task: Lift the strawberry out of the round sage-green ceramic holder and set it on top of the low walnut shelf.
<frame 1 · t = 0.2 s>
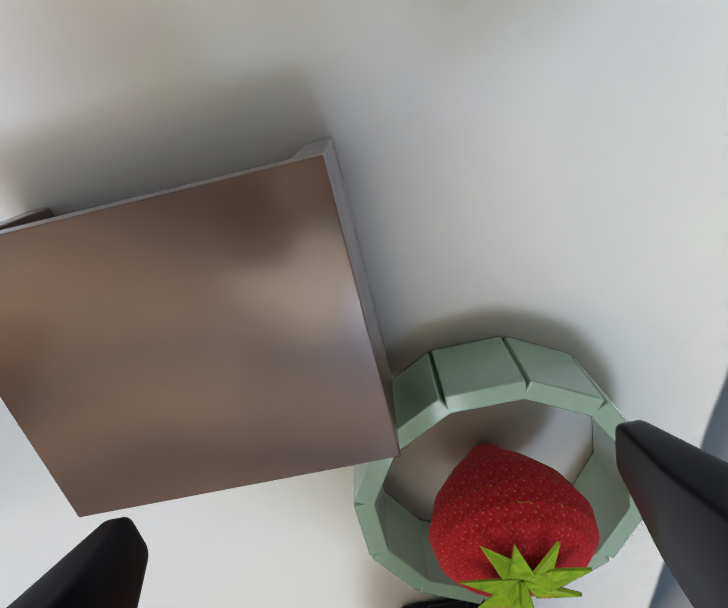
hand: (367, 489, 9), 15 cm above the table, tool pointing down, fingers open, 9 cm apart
strawberry: (482, 447, 27), on the table
shelf: (222, 300, 23), on the table
holder: (483, 449, 27), on the table
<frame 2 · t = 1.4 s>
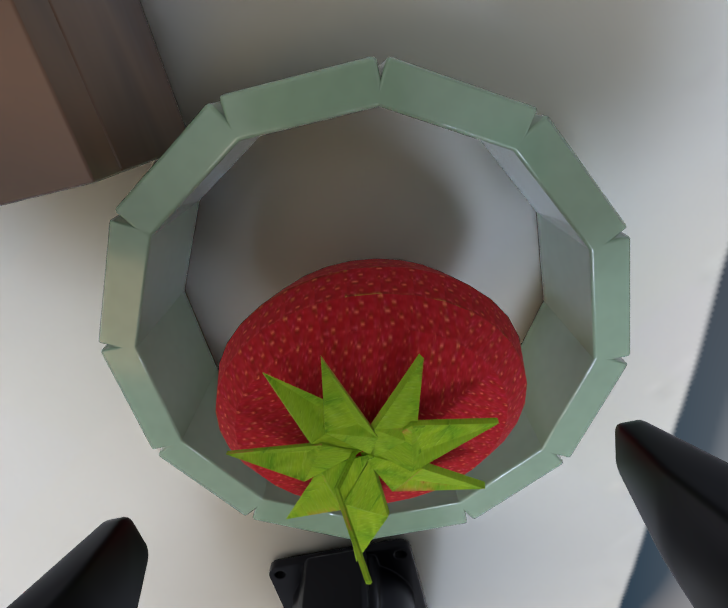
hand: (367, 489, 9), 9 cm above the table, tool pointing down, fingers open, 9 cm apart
strawberry: (365, 292, 17), on the table
holder: (365, 295, 17), on the table
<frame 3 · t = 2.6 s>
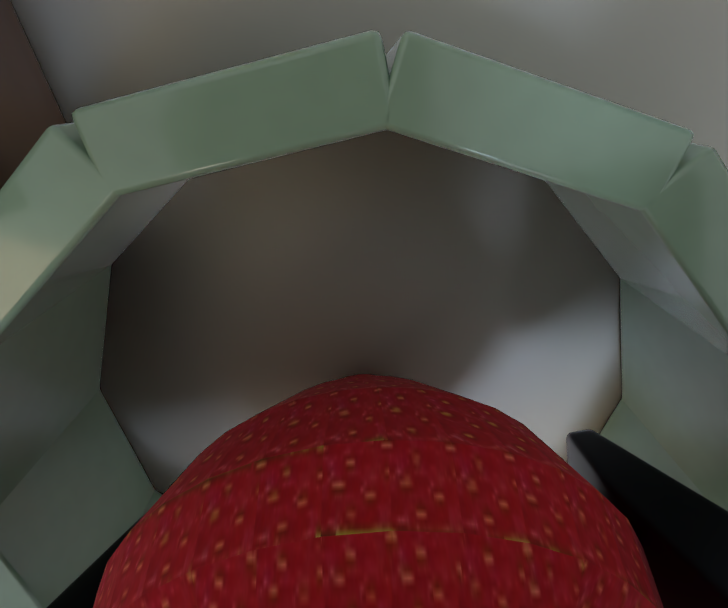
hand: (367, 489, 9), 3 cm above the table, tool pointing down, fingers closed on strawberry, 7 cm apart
strawberry: (363, 387, 12), on the table, touching gripper
holder: (364, 392, 12), on the table
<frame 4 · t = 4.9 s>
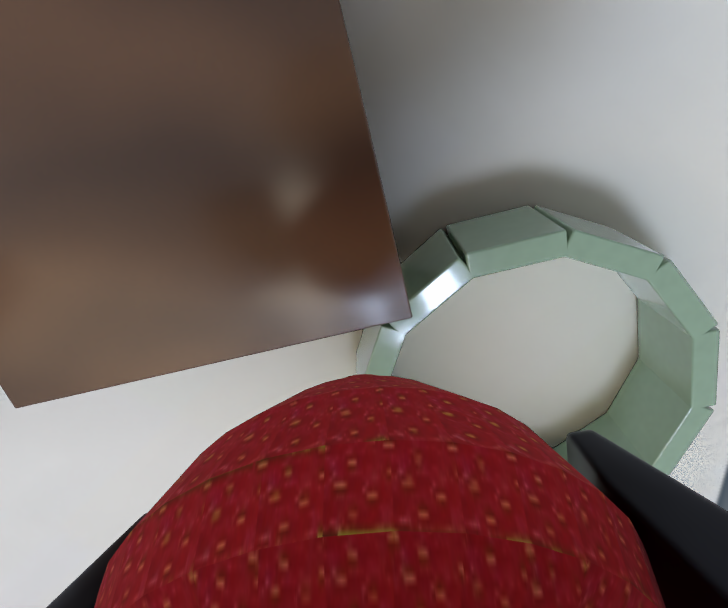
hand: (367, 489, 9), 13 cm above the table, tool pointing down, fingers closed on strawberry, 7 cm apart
strawberry: (364, 387, 12), point 10 cm above the table, touching gripper
shelf: (194, 160, 19), on the table
holder: (508, 356, 23), on the table
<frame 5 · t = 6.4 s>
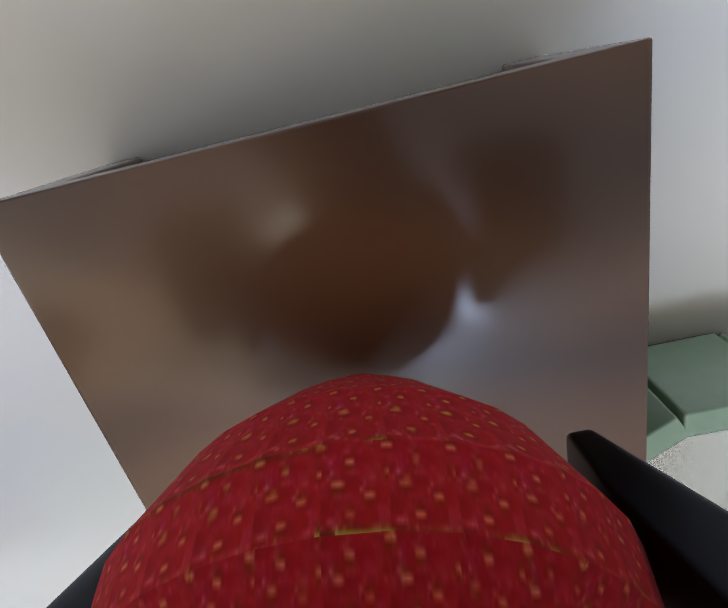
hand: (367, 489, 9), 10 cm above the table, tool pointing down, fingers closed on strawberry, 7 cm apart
strawberry: (364, 387, 12), point 6 cm above the table, touching gripper
shelf: (360, 285, 17), on the table
holder: (662, 475, 21), on the table
when the fingers open (9 cm above the table, at t = 7.1 s): strawberry stays where it is, resting on shelf.
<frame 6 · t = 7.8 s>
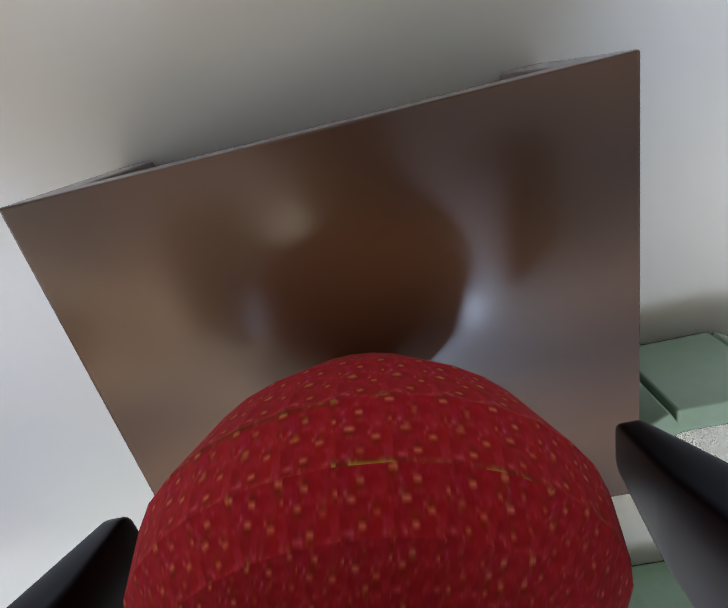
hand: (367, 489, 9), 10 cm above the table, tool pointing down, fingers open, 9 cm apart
strawberry: (366, 369, 13), point 6 cm above the table, touching shelf
shelf: (363, 285, 18), on the table
holder: (659, 472, 22), on the table
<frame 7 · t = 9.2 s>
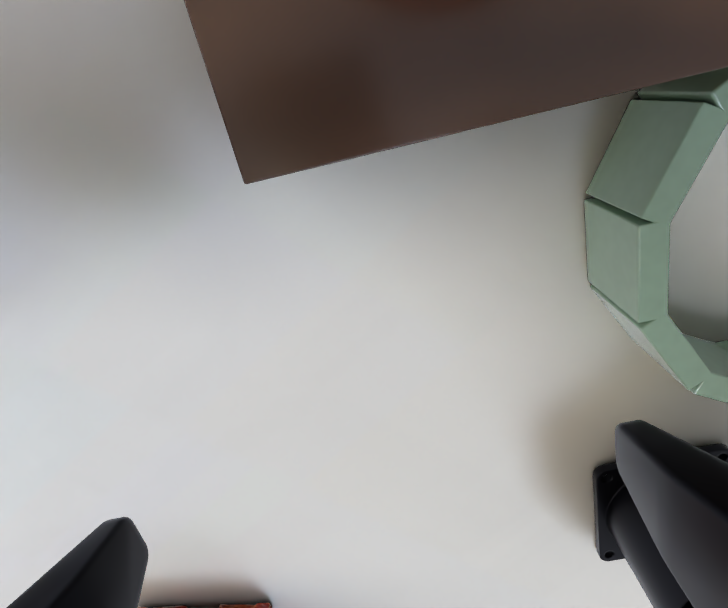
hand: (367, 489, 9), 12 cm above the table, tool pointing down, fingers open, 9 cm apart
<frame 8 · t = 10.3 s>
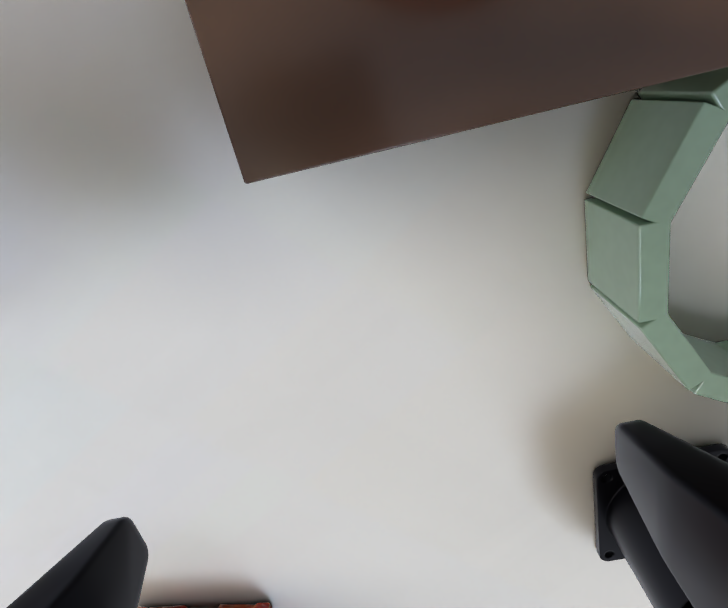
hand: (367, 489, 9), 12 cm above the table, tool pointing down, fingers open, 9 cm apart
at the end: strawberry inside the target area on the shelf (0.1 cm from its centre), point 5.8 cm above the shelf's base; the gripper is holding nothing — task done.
